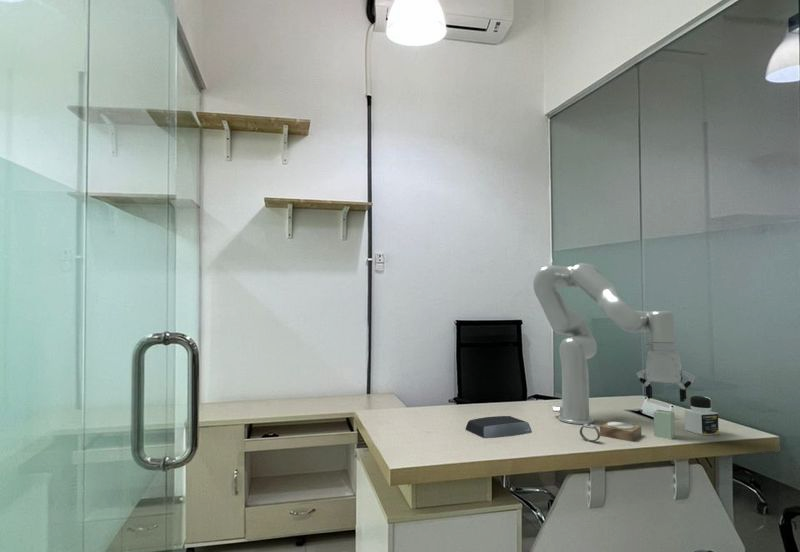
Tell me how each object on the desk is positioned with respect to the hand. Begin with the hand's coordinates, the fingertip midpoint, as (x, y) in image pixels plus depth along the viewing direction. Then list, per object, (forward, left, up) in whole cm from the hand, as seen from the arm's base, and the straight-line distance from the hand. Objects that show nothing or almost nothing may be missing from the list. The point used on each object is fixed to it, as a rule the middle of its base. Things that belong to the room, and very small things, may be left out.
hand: (665, 399), depth 157 cm
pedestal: (-12, -9, -12) cm, 19 cm away
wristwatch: (-17, -23, -12) cm, 31 cm away
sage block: (-1, 0, -12) cm, 12 cm away
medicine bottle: (+7, +15, -12) cm, 21 cm away
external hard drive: (-44, -32, -13) cm, 56 cm away
